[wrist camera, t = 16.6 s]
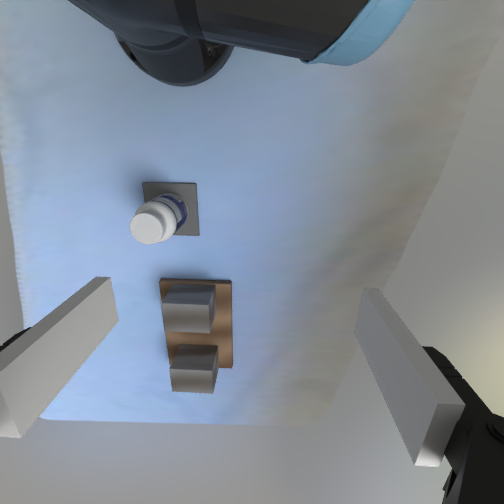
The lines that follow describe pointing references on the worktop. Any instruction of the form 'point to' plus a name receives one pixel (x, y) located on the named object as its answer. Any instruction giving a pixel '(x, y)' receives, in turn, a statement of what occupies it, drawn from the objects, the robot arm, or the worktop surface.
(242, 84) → the worktop surface
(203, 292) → the board with two blocks
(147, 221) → the pill bottle
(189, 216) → the pad
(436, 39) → the worktop surface
